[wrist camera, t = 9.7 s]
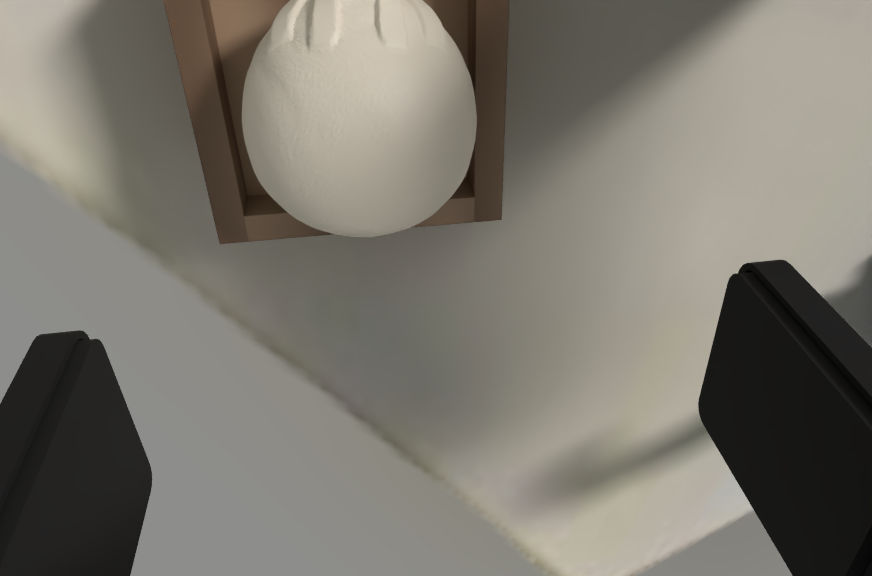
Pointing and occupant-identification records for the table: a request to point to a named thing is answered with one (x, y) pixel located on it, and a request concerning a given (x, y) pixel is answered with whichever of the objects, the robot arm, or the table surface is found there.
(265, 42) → the steamed bun
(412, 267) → the table surface
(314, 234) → the walnut block
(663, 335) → the table surface
